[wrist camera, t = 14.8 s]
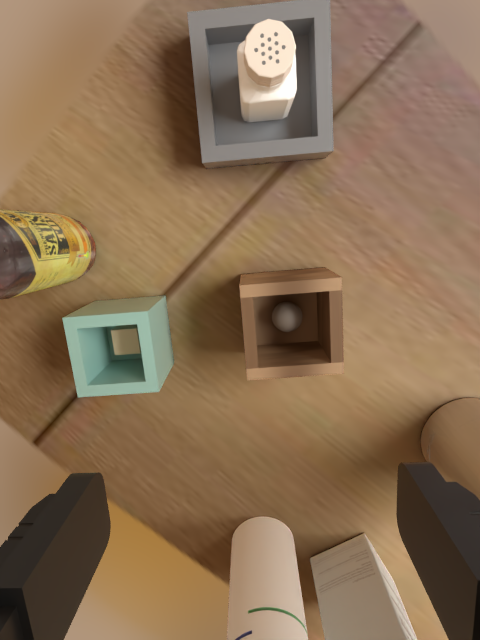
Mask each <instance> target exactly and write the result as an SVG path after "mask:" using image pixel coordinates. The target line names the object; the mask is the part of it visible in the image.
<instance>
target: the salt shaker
mask: <svg viewBox="0 0 480 640" xmlns="http://www.w3.org/2000/svg"><path fill="white" fill-rule="evenodd" d="M295 50H296V44H295V41H294V37H293V34H292V31H291V30H290V29H289V28H288V27H287V26H286V25H285V24H284V23H283V22H281V21H276V20H271V19H267V20H264V21H262V22H259V23H257V24H255V25H254V26H253V28H252V29H251V30H250V32H249V33H248V35H247V36H246V40H244V41H243V42H242V43H240V44H239V46H238V49H237V61H238V76H239V90H240V103H241V115H242V118H243V120H244V121H246V122H259V121H269V120H279V119H284V118H285V117H287V116H288V113H289V111H290V108H291V105H292V102H293V100H294V97H295V94H296V91H297V78H296V56H295Z"/></svg>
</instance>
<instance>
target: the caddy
mask: <svg viewBox="0 0 480 640" xmlns="http://www.w3.org/2000/svg"><path fill="white" fill-rule="evenodd" d="M187 14H188V25H189V35H190V45H191V55H192V65H193V75H194V85H195V95H196V106H197V116H198V126H199V136H200V146H201V156H202V163H203V165H204V166H205V167H206V169H210V168H221V167H232V166H243V165H254V164H265V163H276V162H287V161H298V160H309V159H321V158H326V157H327V156H328V155H329V154H331V153H332V152H333V108H332V65H331V21H330V0H296V1H287V2H278V3H268V4H259V5H249V6H240V7H231V8H221V9H212V10H202V11H193V12H187ZM267 19H271V20H276V21H281V22H283V23H284V24H285V25H286V26H287V27H288V28H289V29H290V30H291V31H292V34H293V37H294V41H295V44H296V50H295V56H296V78H297V91H296V94H295V97H294V100H293V102H292V105H291V108H290V111H289V113H288V116H287V117H285V118H284V119H279V120H269V121H259V122H246V121H244V120H243V118H242V115H241V103H240V90H239V76H238V61H237V49H238V46H239V44H240V43H242V42H243V41H244V40H246V36H247V35H248V33H249V32H250V30H251V29H252V28H253V26H254V25H255V24H257V23H259V22H262V21H264V20H267Z"/></svg>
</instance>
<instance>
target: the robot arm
mask: <svg viewBox="0 0 480 640" xmlns="http://www.w3.org/2000/svg"><path fill="white" fill-rule="evenodd" d="M420 442H421V450H422V453H423V456H424V458H425V459H426V461H427V462H413V463H400V464H399V467H398V485H397V523H398V528H399V532H400V536H401V538H402V541H403V543H404V545H405V547H406V549H407V552H408V554H409V556H410V558H411V560H412V562H413V564H414V566H415V569H416V571H417V573H418V575H419V577H420V579H421V581H422V583H423V586H424V588H425V590H426V592H427V594H428V596H429V598H430V600H431V603H432V605H433V607H434V609H435V611H436V613H437V615H438V617H439V620H440V622H441V624H442V626H443V628H444V630H445V632H446V634H447V637H448V639H449V640H480V399H478V398H462V399H458V400H454V401H452V402H449V403H447V404H445V405H443V406H442V407H440V408H439V409H438V410H436V411H435V412H434V413H433V414H432V415H431V416H430V418H429V419H428V421H427V422H426V424H425V426H424V428H423V431H422V434H421V441H420ZM109 536H110V517H109V510H108V504H107V498H106V491H105V485H104V480H103V476H102V474H101V473H75V474H71V475H69V477H68V478H67V479H66V480H65V482H64V483H63V484H62V486H61V487H60V489H59V490H58V491H57V493H56V494H49V495H48V496H46V497H45V498H44V499H42V500H41V501H40V502H38V503H37V504H36V505H34V506H33V507H32V508H31V509H30V510H29V511H28V513H27V514H26V515H25V517H24V518H23V519H22V520H21V522H20V523H19V526H18V527H16V528H15V529H14V530H13V532H12V533H11V534H10V535H9V537H8V540H6V541H5V542H4V543H3V544H2V545H1V547H0V640H64V638H65V635H66V633H67V631H68V629H69V627H70V625H71V622H72V620H73V618H74V616H75V614H76V612H77V609H78V607H79V605H80V603H81V601H82V599H83V597H84V594H85V592H86V590H87V588H88V586H89V584H90V582H91V579H92V577H93V575H94V573H95V571H96V568H97V566H98V564H99V562H100V560H101V557H102V555H103V553H104V551H105V549H106V547H107V544H108V540H109Z"/></svg>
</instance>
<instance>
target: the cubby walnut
mask: <svg viewBox="0 0 480 640" xmlns="http://www.w3.org/2000/svg"><path fill="white" fill-rule="evenodd" d="M239 288H240V300H241V312H242V324H243V336H244V348H245V360H246V372H247V380H258V379H273V378H287V377H302V376H316V375H331V374H344V359H343V308H342V277H340V276H339V275H337V274H335V273H334V272H332V271H330V270H329V269H327V268H325V267H322V268H310V269H297V270H284V271H272V272H259V273H247V274H241V277H240V284H239Z"/></svg>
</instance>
